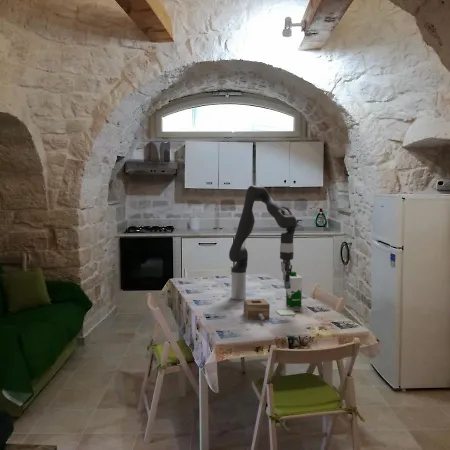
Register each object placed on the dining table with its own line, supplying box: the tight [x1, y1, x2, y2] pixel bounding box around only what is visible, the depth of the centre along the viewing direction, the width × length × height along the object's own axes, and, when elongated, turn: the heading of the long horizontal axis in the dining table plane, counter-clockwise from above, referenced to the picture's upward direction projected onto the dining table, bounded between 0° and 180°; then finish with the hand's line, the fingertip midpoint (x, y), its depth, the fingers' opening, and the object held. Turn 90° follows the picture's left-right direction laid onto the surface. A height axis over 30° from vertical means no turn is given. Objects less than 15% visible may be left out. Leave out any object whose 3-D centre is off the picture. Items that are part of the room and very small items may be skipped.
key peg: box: [281, 265, 291, 290], centre depth 264 cm, size 5×5×13 cm
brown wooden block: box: [242, 298, 270, 321], centre depth 255 cm, size 21×12×8 cm, turn 9°
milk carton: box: [285, 271, 304, 308], centre depth 282 cm, size 9×9×20 cm
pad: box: [275, 309, 296, 317], centre depth 266 cm, size 9×9×1 cm
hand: (286, 280), depth 264 cm, fingers closed on key peg, 3 cm apart
